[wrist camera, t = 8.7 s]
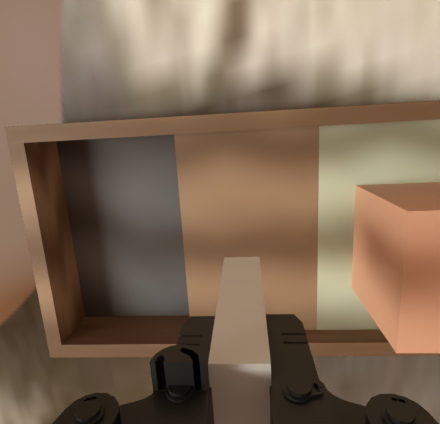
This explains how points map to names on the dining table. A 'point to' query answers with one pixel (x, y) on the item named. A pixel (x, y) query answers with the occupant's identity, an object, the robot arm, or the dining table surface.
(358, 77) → the dining table surface
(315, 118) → the trap box
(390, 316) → the block
